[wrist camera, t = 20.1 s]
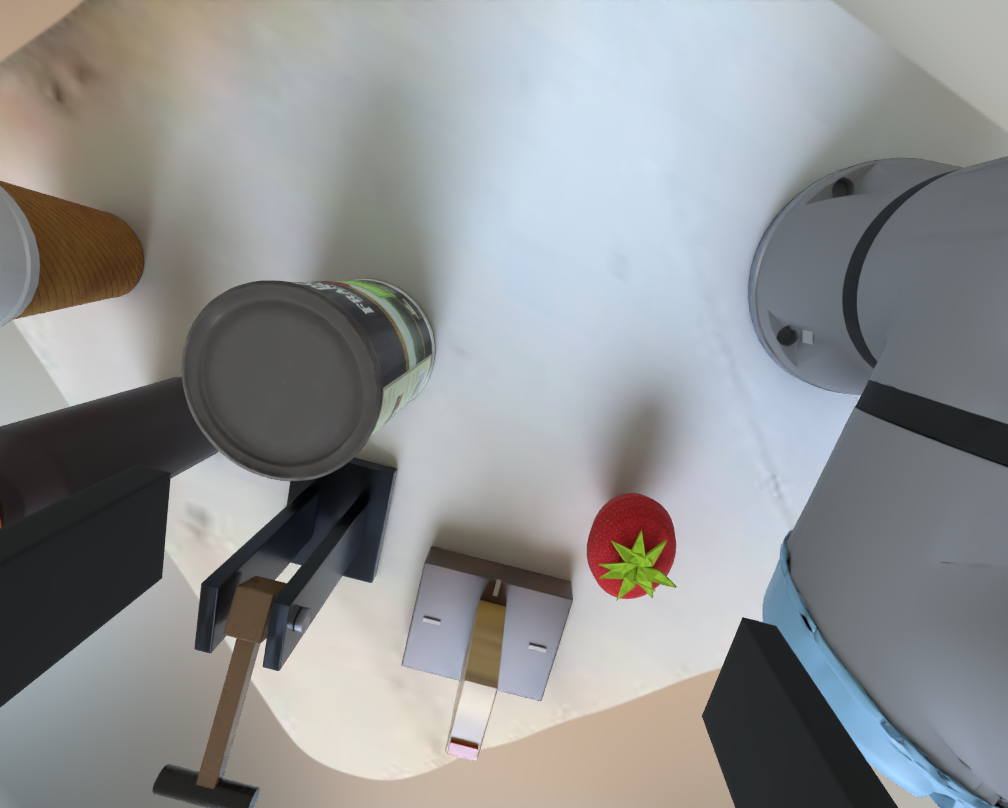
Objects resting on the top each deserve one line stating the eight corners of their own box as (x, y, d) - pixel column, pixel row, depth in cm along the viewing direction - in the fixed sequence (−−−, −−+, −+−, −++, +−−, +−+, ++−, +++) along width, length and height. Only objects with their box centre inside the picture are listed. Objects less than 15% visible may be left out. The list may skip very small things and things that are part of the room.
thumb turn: (479, 599, 42) (463, 682, 33) (506, 606, 42) (497, 690, 33) (463, 661, 43) (444, 755, 35) (489, 668, 43) (476, 764, 35)
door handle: (259, 801, 31) (239, 830, 29) (170, 777, 31) (143, 805, 29) (316, 590, 32) (301, 602, 30) (229, 568, 32) (207, 578, 30)
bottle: (136, 402, 42) (-206, 510, 23) (198, 359, 41) (-107, 436, 22) (188, 471, 44) (-96, 629, 24) (250, 431, 42) (5, 564, 23)
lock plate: (571, 580, 43) (573, 599, 41) (540, 680, 46) (540, 704, 43) (431, 544, 44) (424, 562, 41) (408, 646, 46) (400, 668, 44)
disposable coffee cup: (117, 163, 38) (-70, 114, 26) (188, 285, 40) (43, 290, 28) (18, 224, 40) (-199, 203, 28) (92, 338, 41) (-84, 364, 30)
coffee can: (304, 269, 39) (176, 266, 25) (442, 288, 39) (387, 296, 25) (300, 403, 41) (181, 466, 28) (429, 422, 41) (372, 495, 27)
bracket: (376, 575, 45) (298, 717, 30) (285, 552, 45) (164, 683, 30) (397, 468, 42) (323, 568, 28) (301, 444, 42) (178, 531, 28)
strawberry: (669, 477, 41) (709, 541, 31) (642, 562, 43) (671, 646, 33) (595, 460, 41) (612, 517, 31) (571, 545, 43) (580, 624, 33)
